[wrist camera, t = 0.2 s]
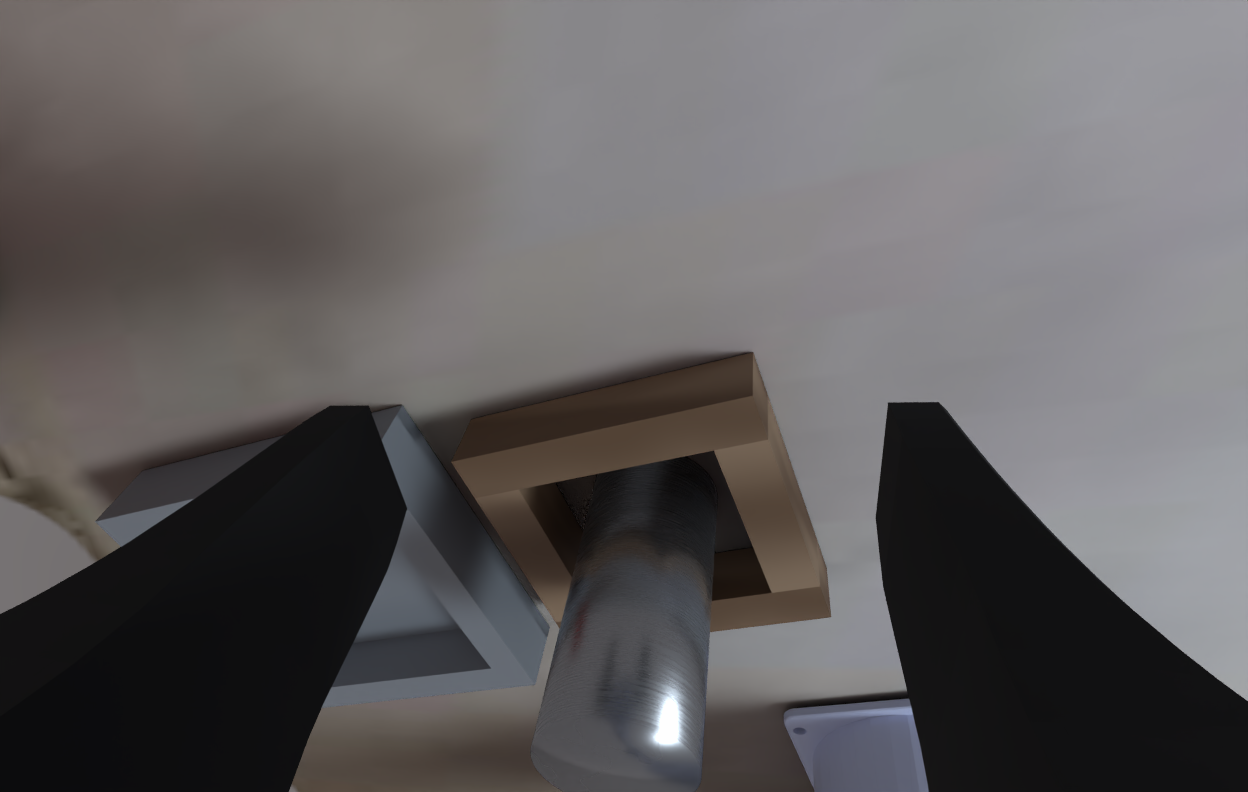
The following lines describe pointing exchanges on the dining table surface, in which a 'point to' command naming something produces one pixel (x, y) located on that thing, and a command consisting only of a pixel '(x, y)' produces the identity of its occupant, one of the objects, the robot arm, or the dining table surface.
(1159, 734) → the robot arm
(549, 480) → the socket block
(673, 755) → the grey cylinder peg
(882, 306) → the dining table surface
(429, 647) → the tray
